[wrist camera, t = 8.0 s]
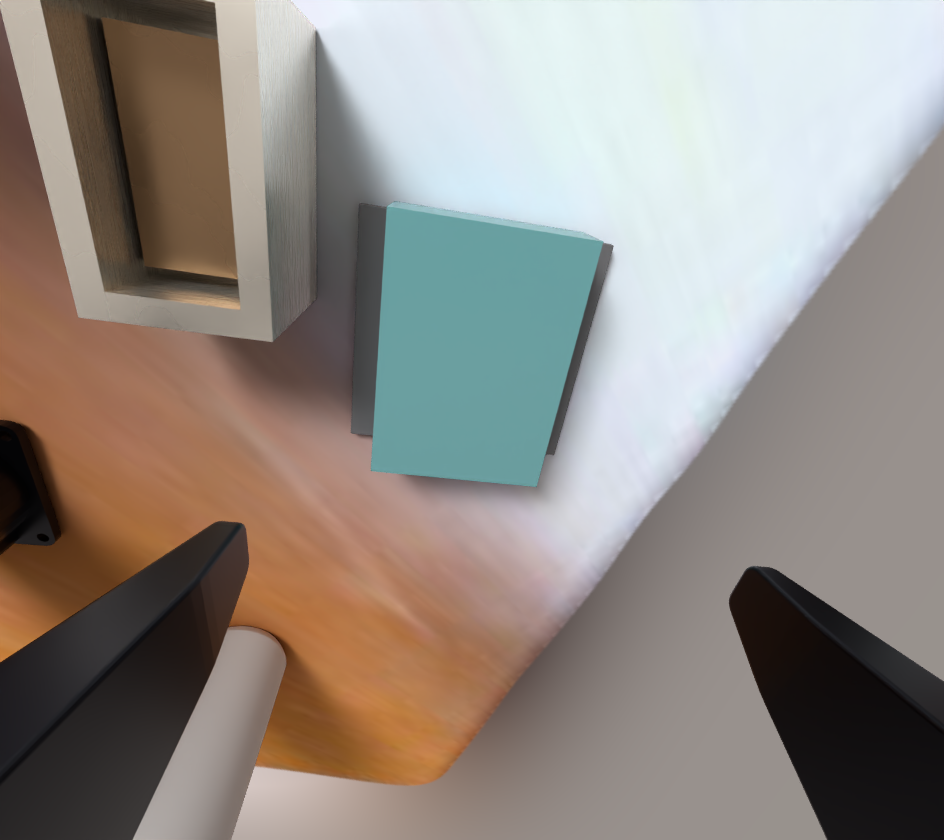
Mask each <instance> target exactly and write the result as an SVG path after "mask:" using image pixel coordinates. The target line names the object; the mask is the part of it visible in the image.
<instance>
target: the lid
mask: <svg viewBox="0 0 944 840" xmlns="http://www.w3.org/2000/svg"><path fill="white" fill-rule="evenodd" d="M602 245H603V241H601V240H599V239H597V238H594V237H592V236H590V235H588V234H586V233H583V232H578V231H572V230H566V229H560V228H554V227H548V226H542V225H536V224H530V223H524V222H518V221H512V220H506V219H500V218H493V217H487V216H481V215H475V214H469V213H463V212H457V211H451V210H445V209H439V208H433V207H427V206H421V205H415V204H409V203H403V202H397V201H394V202H393V203H391V204H390V205H388V206H387V212H386V229H385V245H384V262H383V278H382V295H381V311H380V328H379V345H378V361H377V378H376V394H375V411H374V427H373V444H372V460H371V471H376V472H386V473H397V474H407V475H418V476H428V477H438V478H449V479H459V480H470V481H480V482H491V483H501V484H511V485H522V486H532V487H537V483H538V480H539V476H540V472H541V469H542V465H543V461H544V458H545V454H546V450H547V447H548V443H549V439H550V436H551V432H552V428H553V425H554V421H555V417H556V414H557V410H558V406H559V403H560V399H561V395H562V392H563V388H564V384H565V381H566V377H567V373H568V370H569V366H570V362H571V359H572V355H573V351H574V348H575V344H576V340H577V337H578V333H579V329H580V326H581V322H582V318H583V315H584V311H585V307H586V304H587V300H588V296H589V292H590V289H591V285H592V281H593V278H594V274H595V270H596V267H597V263H598V259H599V256H600V252H601V248H602Z"/></svg>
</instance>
